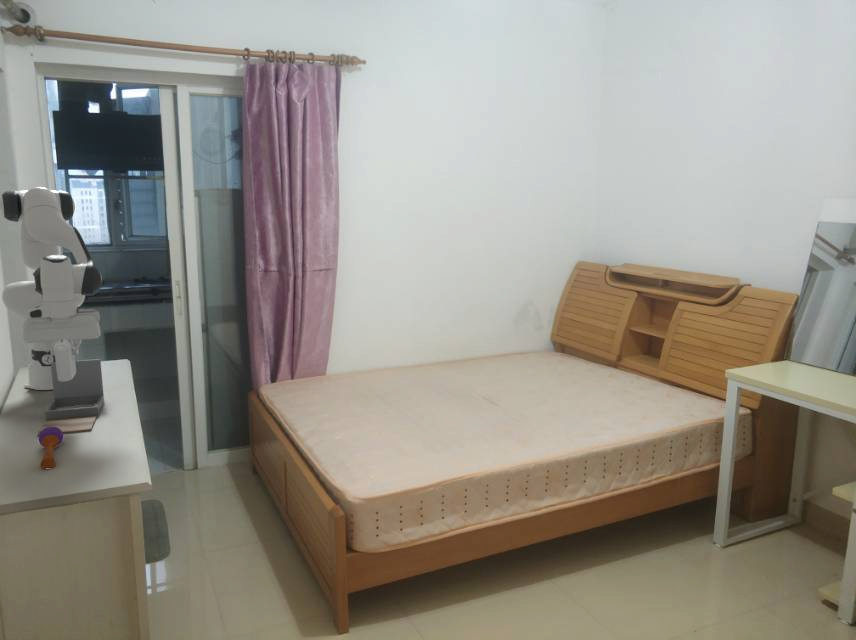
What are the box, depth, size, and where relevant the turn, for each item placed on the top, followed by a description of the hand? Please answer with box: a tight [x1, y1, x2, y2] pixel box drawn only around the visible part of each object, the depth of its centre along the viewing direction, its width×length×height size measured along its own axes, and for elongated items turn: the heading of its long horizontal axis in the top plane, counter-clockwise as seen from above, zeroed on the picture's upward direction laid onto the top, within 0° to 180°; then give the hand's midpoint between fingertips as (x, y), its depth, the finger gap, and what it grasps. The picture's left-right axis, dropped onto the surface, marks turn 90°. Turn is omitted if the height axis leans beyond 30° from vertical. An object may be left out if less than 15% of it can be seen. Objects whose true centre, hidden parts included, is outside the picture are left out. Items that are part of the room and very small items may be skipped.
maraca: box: [38, 427, 64, 470], centre depth 173 cm, size 6×6×20 cm
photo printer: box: [54, 339, 76, 382], centre depth 195 cm, size 10×4×12 cm, turn 21°
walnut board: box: [36, 415, 98, 437], centre depth 195 cm, size 13×14×1 cm
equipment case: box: [44, 358, 105, 421], centre depth 208 cm, size 15×15×15 cm
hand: (64, 355), depth 195 cm, fingers closed on photo printer, 4 cm apart
